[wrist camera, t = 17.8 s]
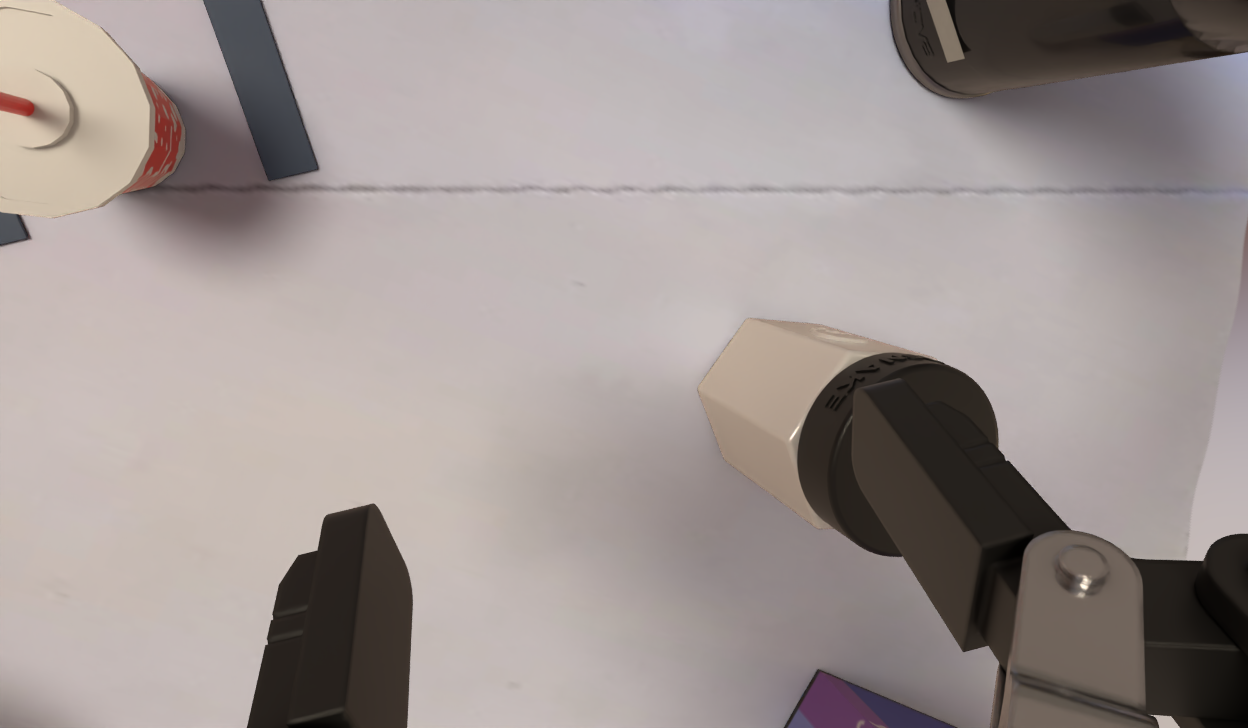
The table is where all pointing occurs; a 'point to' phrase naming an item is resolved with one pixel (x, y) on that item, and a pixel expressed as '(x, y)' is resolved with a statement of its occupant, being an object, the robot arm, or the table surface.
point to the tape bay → (245, 95)
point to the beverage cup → (76, 115)
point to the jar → (817, 415)
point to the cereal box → (853, 708)
